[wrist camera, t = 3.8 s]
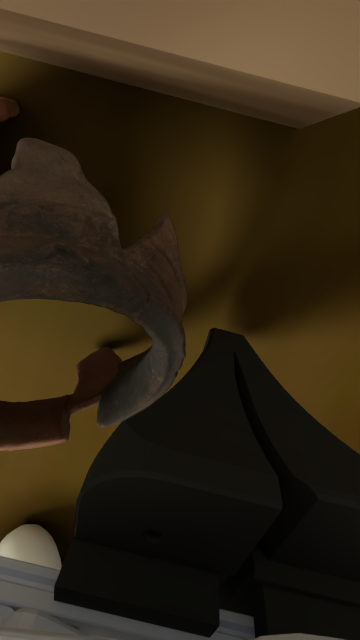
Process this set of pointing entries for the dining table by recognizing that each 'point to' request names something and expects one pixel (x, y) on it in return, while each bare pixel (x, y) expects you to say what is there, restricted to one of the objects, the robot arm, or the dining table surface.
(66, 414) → the brown curved piece
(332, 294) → the dining table surface
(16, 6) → the walnut screen
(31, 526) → the white knot
